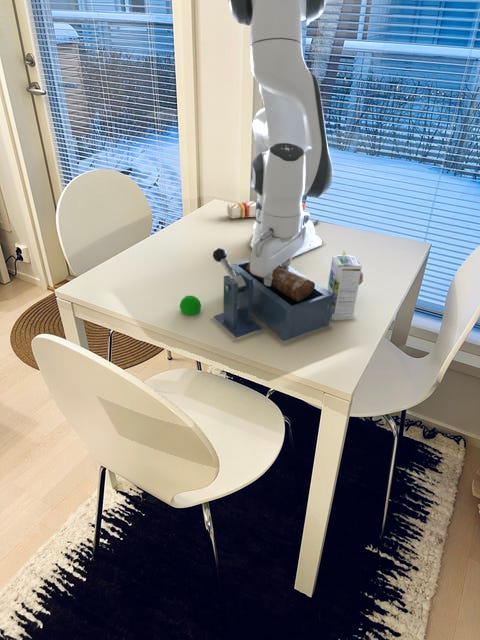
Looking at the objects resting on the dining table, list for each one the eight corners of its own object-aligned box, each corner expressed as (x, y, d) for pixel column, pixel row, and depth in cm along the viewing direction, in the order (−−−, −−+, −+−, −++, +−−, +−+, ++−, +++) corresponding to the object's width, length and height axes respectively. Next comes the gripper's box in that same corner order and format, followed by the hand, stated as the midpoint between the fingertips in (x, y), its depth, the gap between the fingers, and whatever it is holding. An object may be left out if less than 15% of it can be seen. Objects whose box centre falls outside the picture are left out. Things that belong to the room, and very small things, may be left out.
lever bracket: (213, 320, 119) (213, 272, 112) (238, 312, 122) (239, 264, 115) (236, 341, 112) (237, 291, 105) (261, 332, 115) (264, 283, 108)
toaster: (269, 284, 134) (271, 254, 129) (329, 328, 117) (333, 294, 113) (228, 297, 128) (228, 265, 123) (284, 344, 111) (287, 310, 107)
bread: (296, 307, 111) (298, 285, 108) (241, 274, 123) (242, 254, 120) (316, 299, 115) (319, 277, 112) (261, 267, 127) (262, 247, 124)
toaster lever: (209, 256, 116) (211, 246, 114) (221, 253, 118) (224, 243, 115) (233, 295, 111) (236, 286, 109) (245, 292, 113) (249, 283, 110)
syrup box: (323, 308, 125) (330, 255, 117) (347, 307, 125) (355, 254, 117) (329, 321, 120) (336, 266, 112) (353, 320, 120) (362, 265, 113)
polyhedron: (193, 306, 124) (192, 289, 121) (205, 315, 121) (205, 297, 118) (176, 313, 121) (175, 296, 119) (188, 322, 118) (187, 304, 116)
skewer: (231, 221, 171) (232, 207, 168) (226, 215, 176) (226, 201, 173) (288, 215, 177) (289, 201, 174) (280, 209, 182) (281, 195, 179)
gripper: (270, 241, 101) (266, 300, 109) (313, 212, 116) (307, 266, 124) (244, 234, 104) (241, 292, 112) (289, 206, 119) (284, 259, 126)
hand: (276, 278), depth 118 cm, fingers closed on bread, 6 cm apart
